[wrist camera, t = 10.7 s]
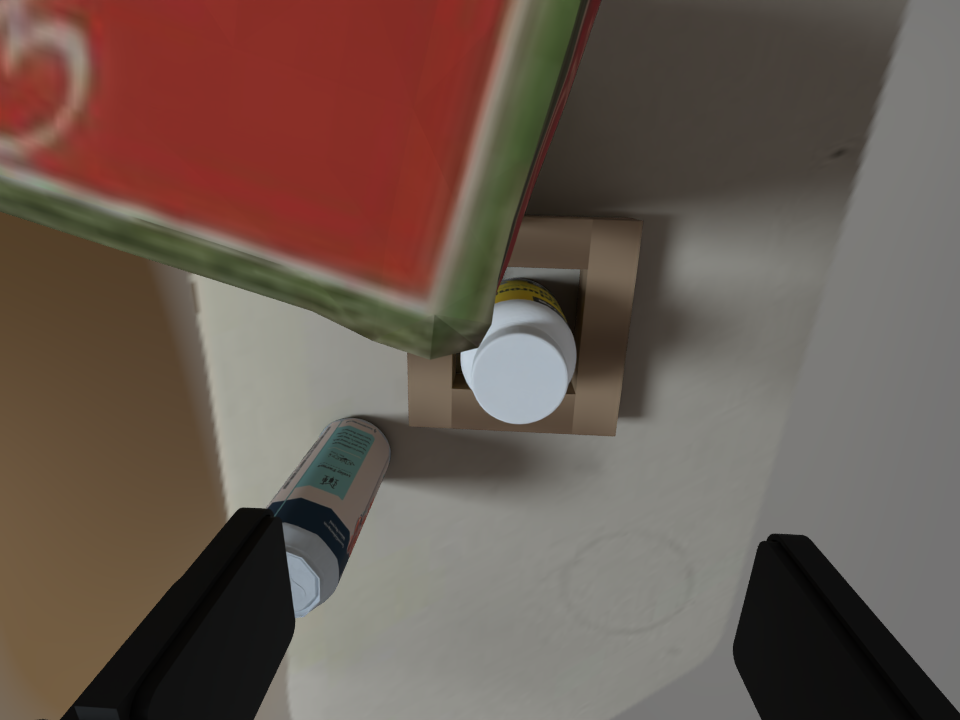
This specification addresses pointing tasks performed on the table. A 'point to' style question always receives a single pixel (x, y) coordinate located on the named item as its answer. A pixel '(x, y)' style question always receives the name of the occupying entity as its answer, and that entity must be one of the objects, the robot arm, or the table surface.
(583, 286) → the wooden frame
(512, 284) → the supplement bottle
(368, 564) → the table surface
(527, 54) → the food packaging
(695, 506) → the table surface
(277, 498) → the beer can
